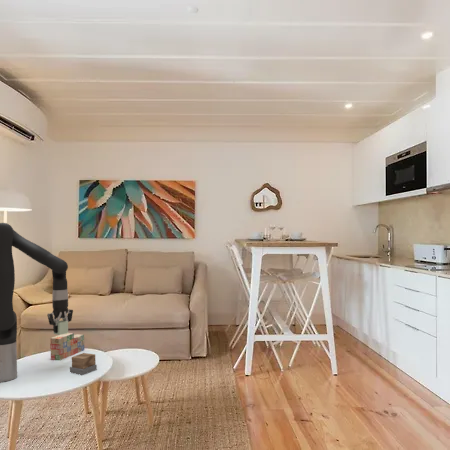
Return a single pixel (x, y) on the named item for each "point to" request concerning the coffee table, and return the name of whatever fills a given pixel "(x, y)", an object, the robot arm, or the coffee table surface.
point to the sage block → (62, 327)
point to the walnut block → (83, 360)
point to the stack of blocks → (66, 345)
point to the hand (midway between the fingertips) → (60, 331)
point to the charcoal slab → (83, 370)
